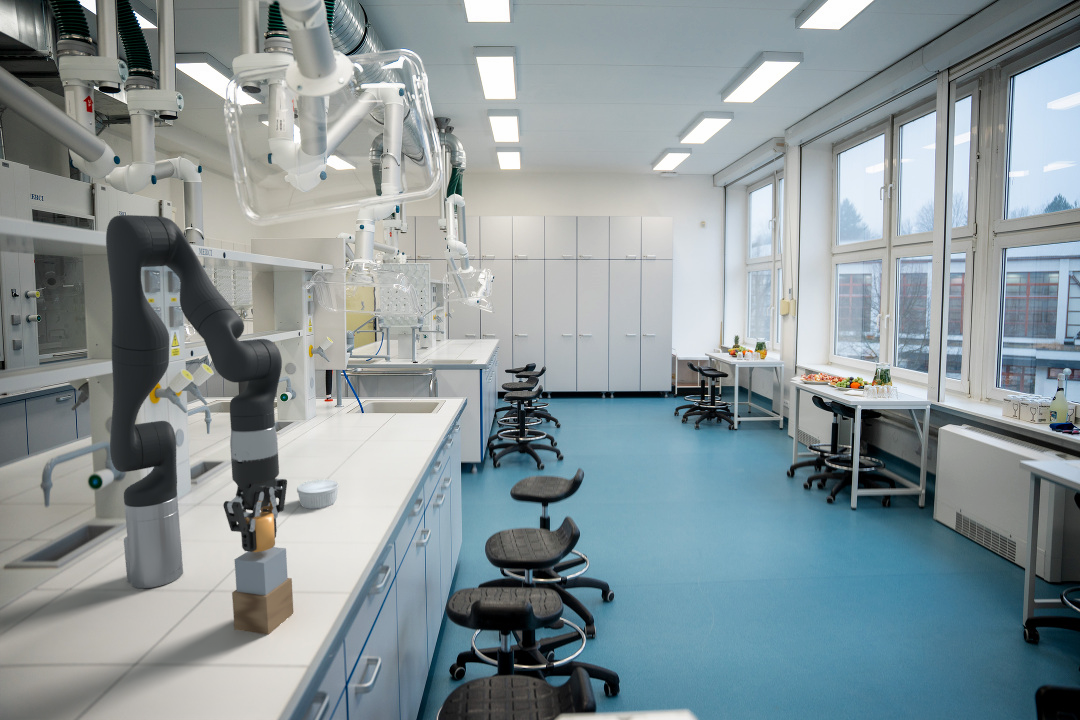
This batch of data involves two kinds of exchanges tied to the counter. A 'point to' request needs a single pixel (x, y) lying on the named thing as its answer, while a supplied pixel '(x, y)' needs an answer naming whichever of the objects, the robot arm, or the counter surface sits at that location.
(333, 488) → the ramekin
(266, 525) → the orange rounded cylinder
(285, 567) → the grey top cube
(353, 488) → the counter surface
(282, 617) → the walnut base cube
